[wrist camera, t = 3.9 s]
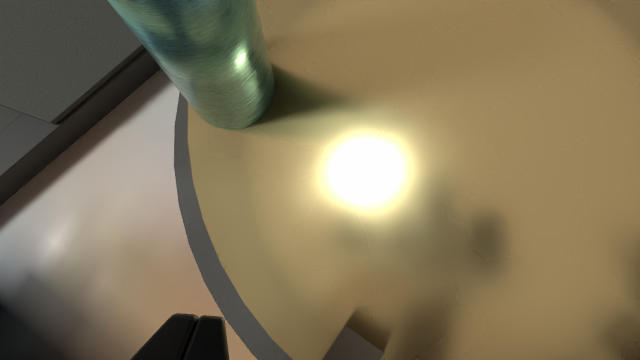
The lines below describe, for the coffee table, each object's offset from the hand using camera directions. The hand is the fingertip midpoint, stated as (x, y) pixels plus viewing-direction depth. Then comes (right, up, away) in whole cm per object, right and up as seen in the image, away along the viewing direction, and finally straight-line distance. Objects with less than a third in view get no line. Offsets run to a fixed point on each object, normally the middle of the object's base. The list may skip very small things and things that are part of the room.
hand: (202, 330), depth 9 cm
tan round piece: (+6, +4, +6) cm, 9 cm away
